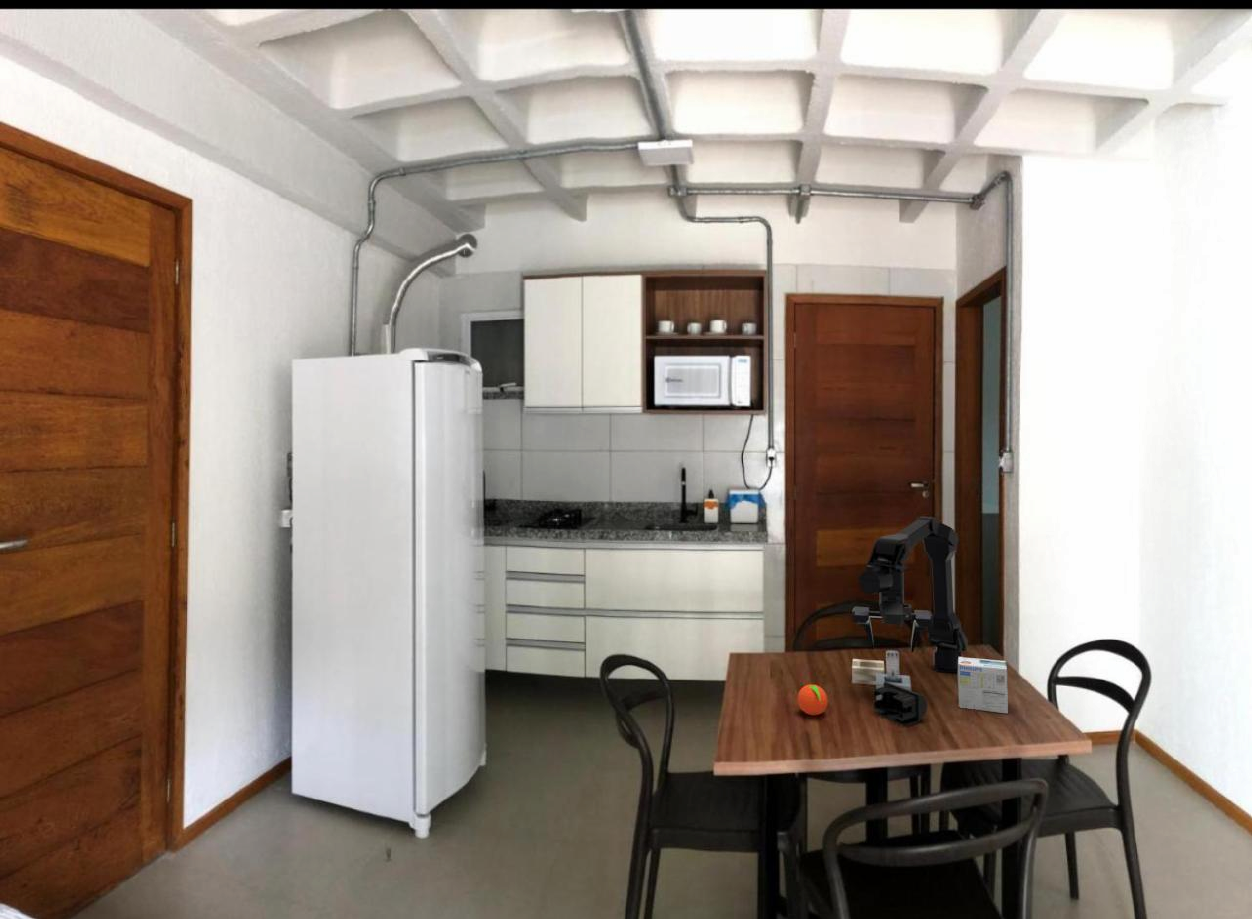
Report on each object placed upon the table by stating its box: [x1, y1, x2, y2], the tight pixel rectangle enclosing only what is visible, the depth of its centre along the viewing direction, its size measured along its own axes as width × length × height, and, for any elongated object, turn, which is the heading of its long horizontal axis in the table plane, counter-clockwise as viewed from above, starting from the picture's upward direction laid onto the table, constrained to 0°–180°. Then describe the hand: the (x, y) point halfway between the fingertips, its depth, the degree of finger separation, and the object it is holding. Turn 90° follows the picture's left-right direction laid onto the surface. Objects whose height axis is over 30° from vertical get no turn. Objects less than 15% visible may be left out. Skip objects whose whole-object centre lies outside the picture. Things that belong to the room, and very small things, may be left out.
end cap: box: [872, 682, 928, 727], centre depth 168 cm, size 10×7×7 cm
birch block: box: [851, 658, 885, 686], centre depth 194 cm, size 8×8×4 cm
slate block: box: [875, 673, 912, 701], centre depth 181 cm, size 8×8×4 cm
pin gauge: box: [885, 649, 900, 683], centre depth 181 cm, size 3×3×10 cm
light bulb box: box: [957, 656, 1009, 714], centre depth 173 cm, size 11×7×11 cm, turn 65°
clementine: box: [797, 684, 829, 716], centre depth 170 cm, size 8×7×7 cm
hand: (892, 650), depth 181 cm, fingers open, 9 cm apart
